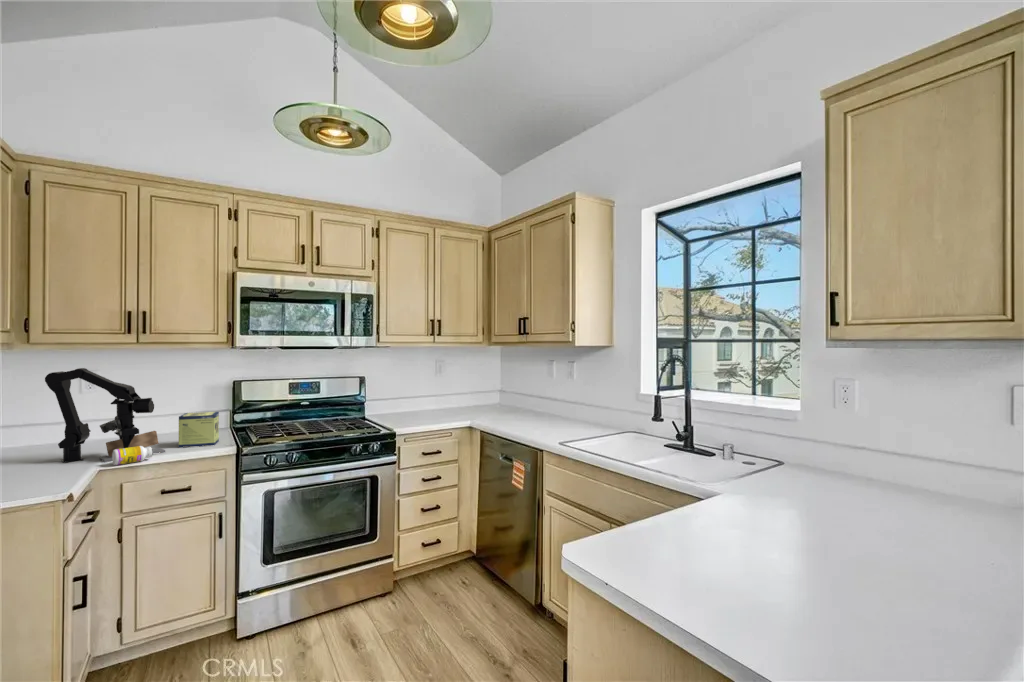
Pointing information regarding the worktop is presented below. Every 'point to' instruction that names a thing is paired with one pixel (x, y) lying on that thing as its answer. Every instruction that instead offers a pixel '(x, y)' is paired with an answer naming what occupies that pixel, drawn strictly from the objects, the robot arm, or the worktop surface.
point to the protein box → (198, 429)
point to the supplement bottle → (130, 455)
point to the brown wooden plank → (134, 442)
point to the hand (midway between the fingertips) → (125, 448)
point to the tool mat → (109, 458)
